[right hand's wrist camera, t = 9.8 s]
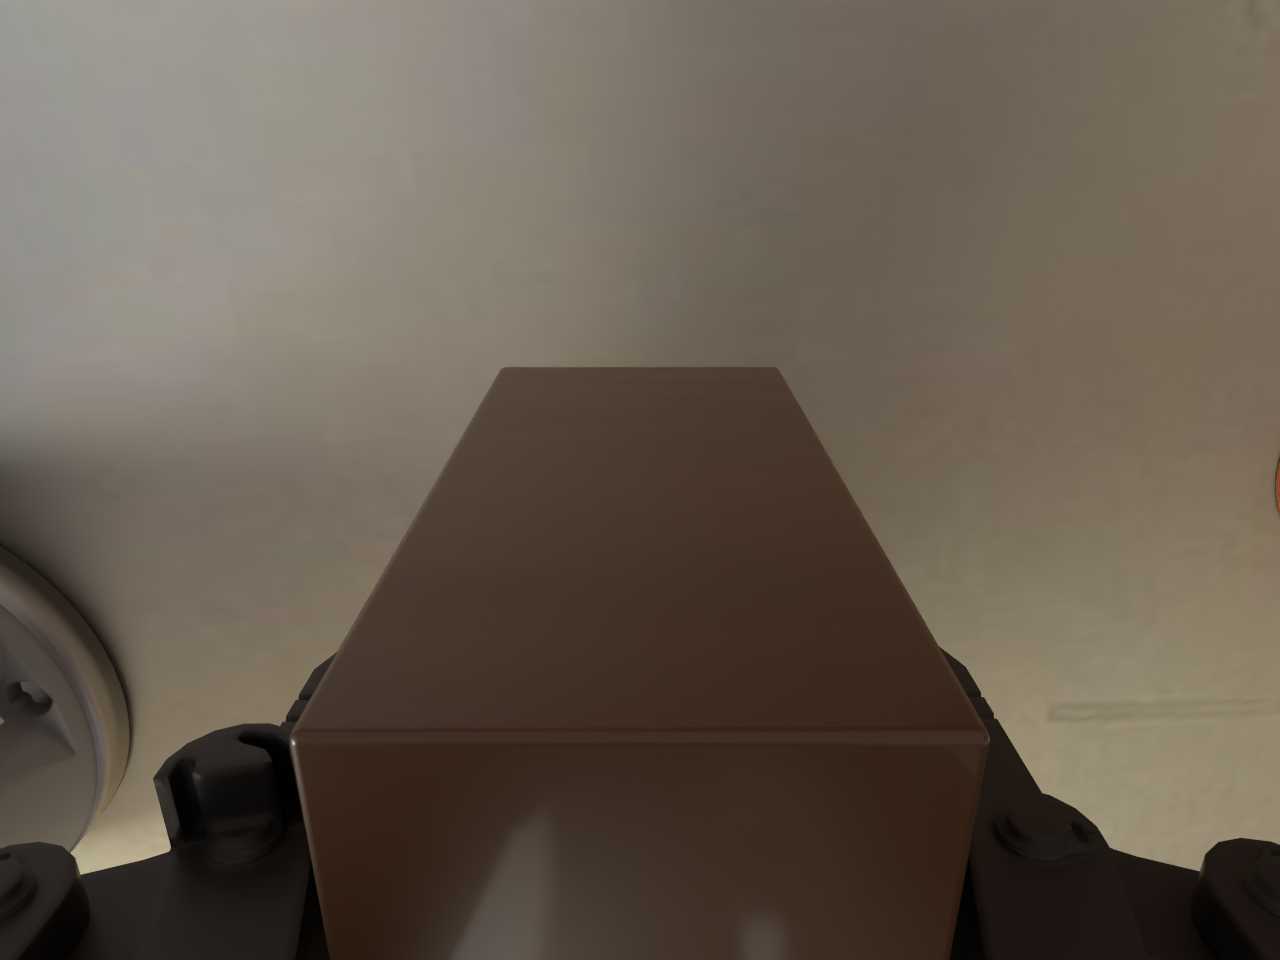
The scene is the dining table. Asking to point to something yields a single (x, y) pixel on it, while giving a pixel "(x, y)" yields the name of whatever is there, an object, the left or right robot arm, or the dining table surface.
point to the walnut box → (639, 698)
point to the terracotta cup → (1278, 487)
